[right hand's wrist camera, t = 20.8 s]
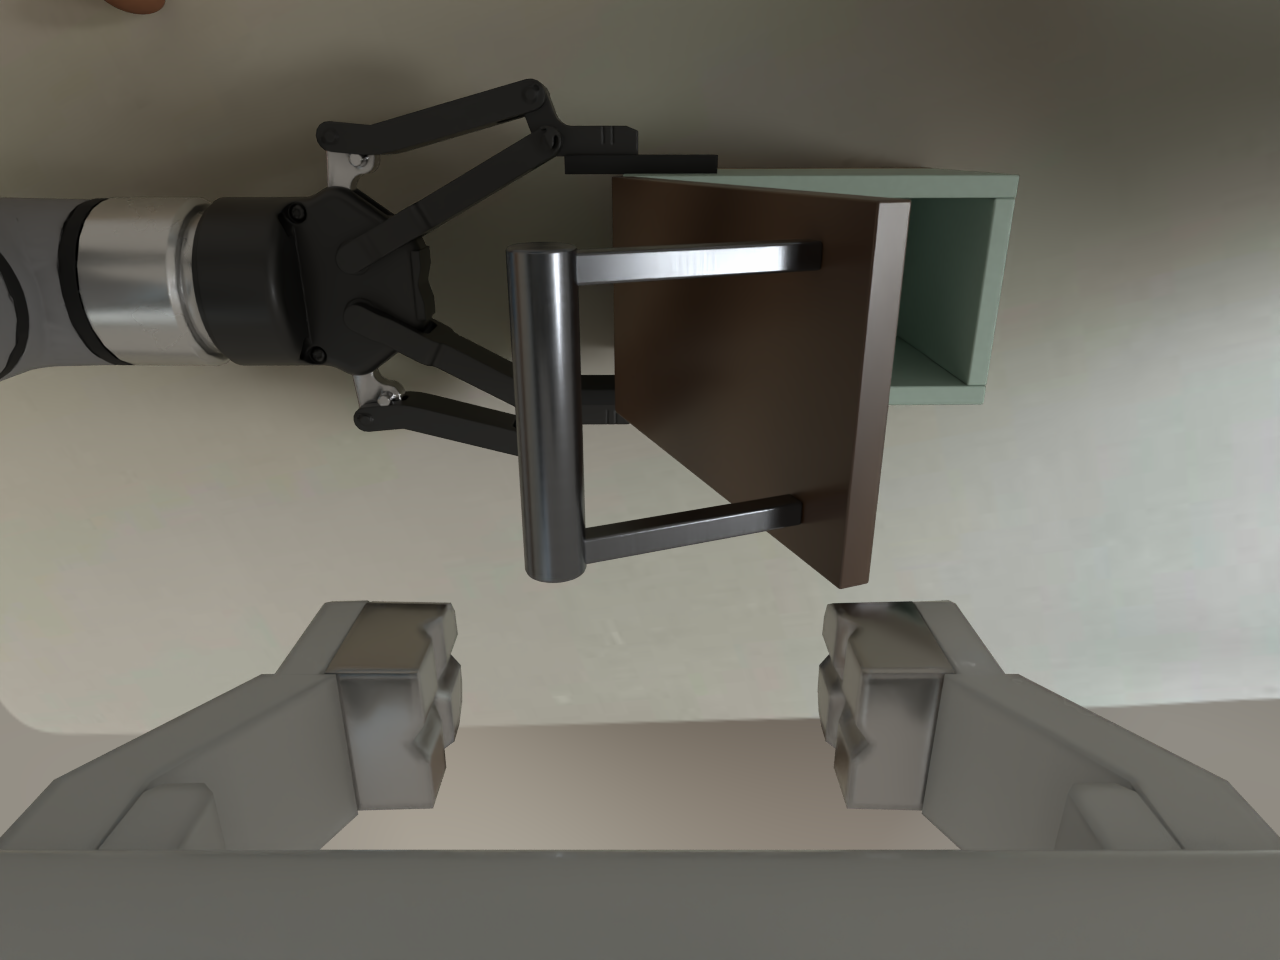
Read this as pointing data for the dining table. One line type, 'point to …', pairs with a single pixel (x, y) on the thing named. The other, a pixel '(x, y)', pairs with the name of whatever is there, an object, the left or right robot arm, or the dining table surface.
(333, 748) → the right robot arm
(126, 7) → the brown elongated ellipsoid
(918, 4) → the dining table surface
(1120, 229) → the dining table surface
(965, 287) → the chest
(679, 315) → the lid
